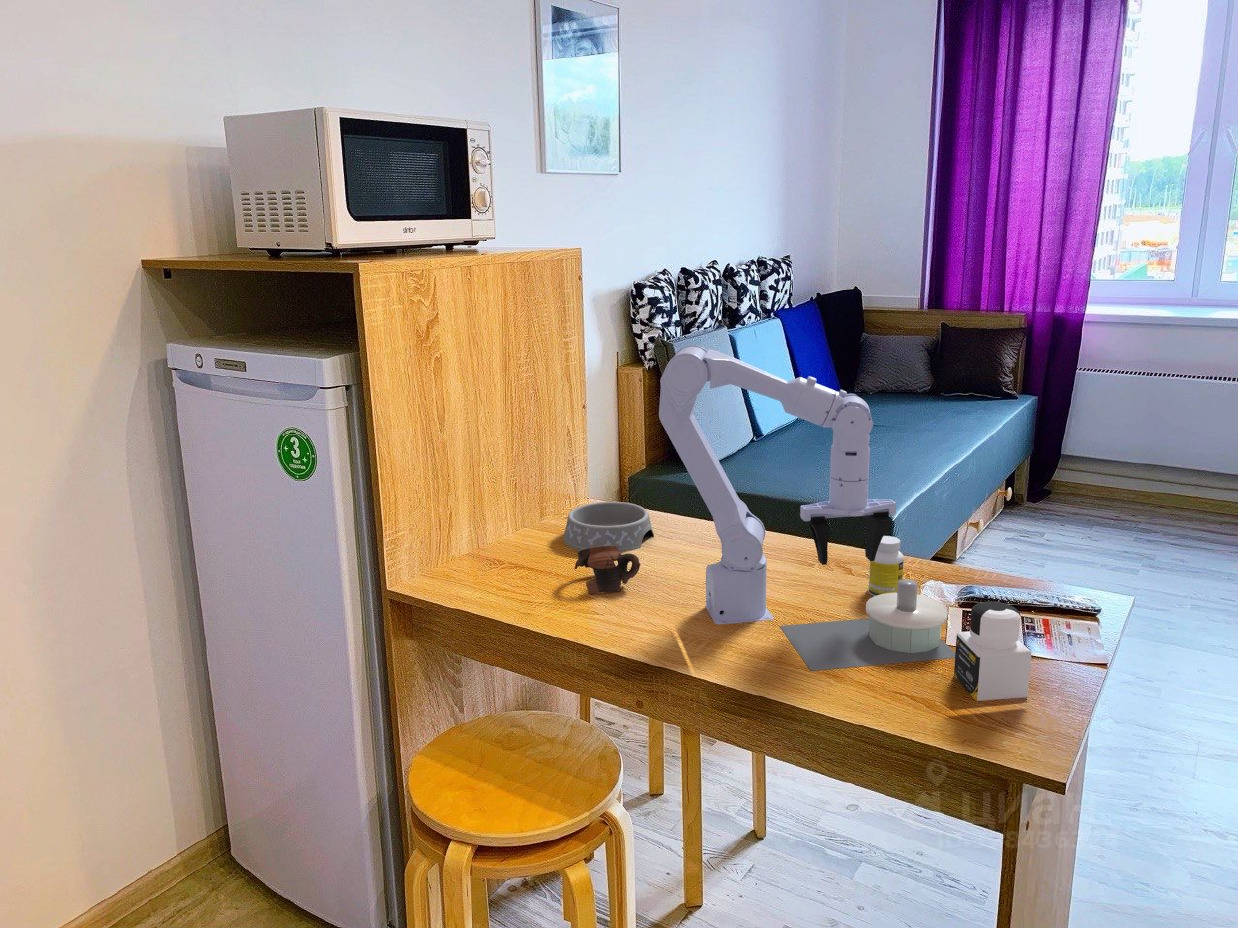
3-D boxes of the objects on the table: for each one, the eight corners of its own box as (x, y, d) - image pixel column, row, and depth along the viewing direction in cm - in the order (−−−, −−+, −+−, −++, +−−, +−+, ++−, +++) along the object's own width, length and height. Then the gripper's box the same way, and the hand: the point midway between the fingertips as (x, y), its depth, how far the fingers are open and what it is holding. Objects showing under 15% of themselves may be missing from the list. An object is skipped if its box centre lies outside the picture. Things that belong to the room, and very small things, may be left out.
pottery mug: (570, 598, 165) (564, 550, 167) (590, 601, 173) (584, 556, 175) (636, 585, 161) (629, 537, 163) (653, 589, 170) (646, 544, 172)
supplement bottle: (902, 602, 157) (905, 546, 155) (868, 600, 159) (871, 544, 156) (900, 589, 163) (903, 534, 160) (867, 588, 164) (869, 533, 161)
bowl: (885, 655, 138) (887, 629, 137) (859, 626, 148) (860, 602, 147) (951, 649, 139) (953, 623, 138) (921, 620, 149) (923, 596, 148)
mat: (810, 674, 135) (810, 670, 134) (779, 629, 149) (779, 625, 149) (959, 660, 137) (959, 656, 137) (914, 617, 152) (915, 614, 151)
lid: (884, 633, 136) (886, 601, 135) (853, 600, 147) (854, 571, 146) (961, 625, 138) (964, 594, 136) (925, 594, 149) (927, 565, 148)
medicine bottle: (952, 678, 132) (958, 598, 129) (1002, 675, 133) (1009, 594, 130) (975, 704, 125) (981, 620, 122) (1028, 701, 126) (1036, 616, 123)
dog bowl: (665, 528, 197) (664, 503, 196) (630, 559, 181) (629, 532, 180) (590, 520, 204) (589, 496, 202) (549, 548, 188) (548, 522, 186)
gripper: (811, 487, 141) (809, 573, 144) (906, 480, 143) (901, 566, 146) (796, 474, 148) (794, 557, 151) (887, 468, 149) (883, 550, 153)
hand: (846, 560), depth 149 cm, fingers open, 7 cm apart
